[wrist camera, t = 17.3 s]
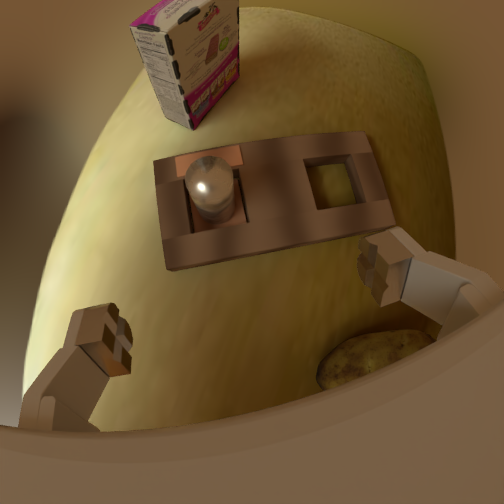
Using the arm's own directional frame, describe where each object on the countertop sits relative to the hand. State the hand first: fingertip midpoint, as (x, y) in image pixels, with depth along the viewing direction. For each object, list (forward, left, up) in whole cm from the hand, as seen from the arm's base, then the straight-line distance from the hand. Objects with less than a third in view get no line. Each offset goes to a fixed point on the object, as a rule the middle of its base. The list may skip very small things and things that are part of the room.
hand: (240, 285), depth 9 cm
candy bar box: (0, +26, -22) cm, 33 cm away
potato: (+13, -11, -22) cm, 27 cm away
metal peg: (-1, +9, -21) cm, 23 cm away
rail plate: (+6, +10, -21) cm, 24 cm away
